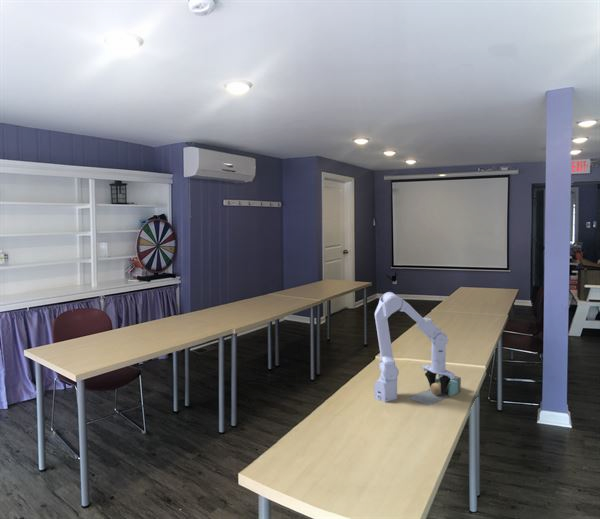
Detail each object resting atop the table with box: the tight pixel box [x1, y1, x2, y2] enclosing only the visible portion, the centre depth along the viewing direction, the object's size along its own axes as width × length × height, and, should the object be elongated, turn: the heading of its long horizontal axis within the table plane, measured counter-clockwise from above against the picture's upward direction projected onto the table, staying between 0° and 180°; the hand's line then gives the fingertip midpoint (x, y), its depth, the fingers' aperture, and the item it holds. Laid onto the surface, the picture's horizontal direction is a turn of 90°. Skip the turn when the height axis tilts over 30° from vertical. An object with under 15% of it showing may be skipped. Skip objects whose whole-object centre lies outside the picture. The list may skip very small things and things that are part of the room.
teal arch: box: [435, 376, 459, 397], centre depth 192 cm, size 5×8×5 cm, turn 37°
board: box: [408, 388, 450, 406], centre depth 188 cm, size 20×10×1 cm, turn 127°
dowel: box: [429, 381, 451, 395], centre depth 190 cm, size 8×5×5 cm, turn 127°
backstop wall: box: [437, 374, 462, 393], centre depth 195 cm, size 3×9×6 cm, turn 37°
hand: (438, 391), depth 188 cm, fingers closed on dowel, 5 cm apart
